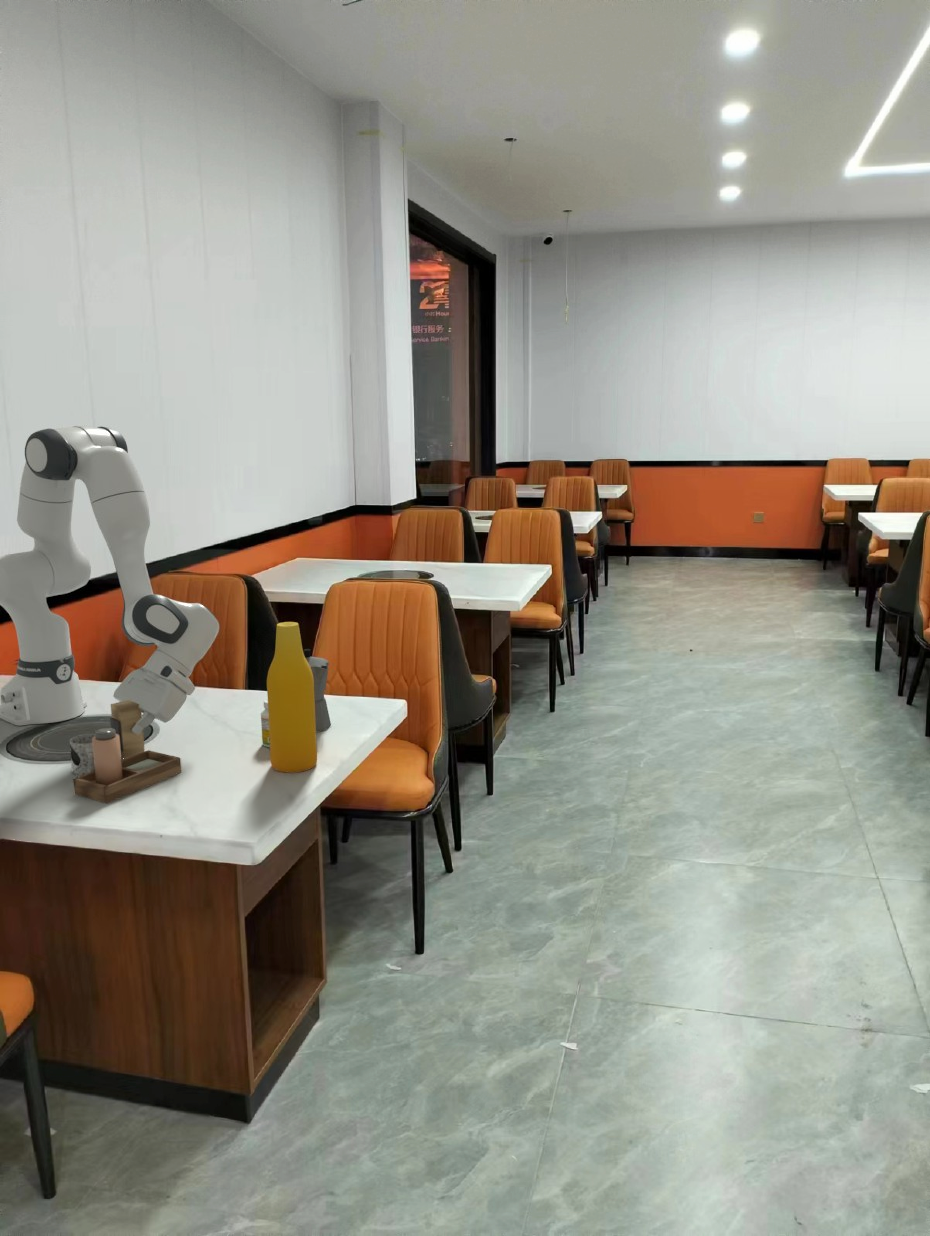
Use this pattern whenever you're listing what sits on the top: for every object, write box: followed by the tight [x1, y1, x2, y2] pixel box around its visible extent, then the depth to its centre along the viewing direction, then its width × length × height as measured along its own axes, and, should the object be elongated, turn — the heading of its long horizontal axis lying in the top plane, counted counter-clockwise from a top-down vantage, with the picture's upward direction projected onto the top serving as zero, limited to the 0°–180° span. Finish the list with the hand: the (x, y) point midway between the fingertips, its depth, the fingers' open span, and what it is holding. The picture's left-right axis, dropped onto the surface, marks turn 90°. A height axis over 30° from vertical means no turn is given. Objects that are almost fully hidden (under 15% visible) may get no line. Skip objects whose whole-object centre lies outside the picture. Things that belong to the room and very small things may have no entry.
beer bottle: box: [266, 621, 318, 773], centre depth 196 cm, size 9×9×29 cm
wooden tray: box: [72, 749, 182, 804], centre depth 190 cm, size 9×18×3 cm, turn 149°
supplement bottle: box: [260, 698, 270, 748], centre depth 211 cm, size 5×5×10 cm
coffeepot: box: [303, 648, 332, 733], centre depth 222 cm, size 15×9×18 cm, turn 49°
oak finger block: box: [109, 700, 145, 760], centre depth 205 cm, size 4×5×11 cm
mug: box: [69, 732, 95, 777], centre depth 195 cm, size 10×7×7 cm
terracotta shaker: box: [92, 727, 123, 786], centre depth 185 cm, size 5×5×10 cm
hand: (124, 728), depth 204 cm, fingers open, 6 cm apart
